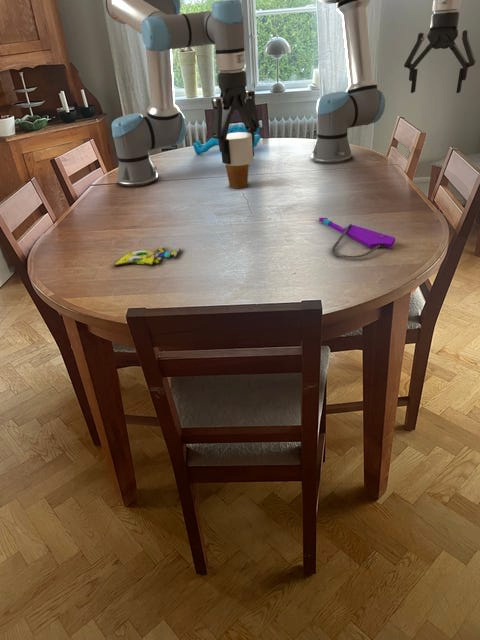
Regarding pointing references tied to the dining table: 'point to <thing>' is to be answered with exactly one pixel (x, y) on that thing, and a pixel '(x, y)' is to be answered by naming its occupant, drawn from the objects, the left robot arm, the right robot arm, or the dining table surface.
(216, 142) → the toy
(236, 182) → the disposable coffee cup
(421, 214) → the dining table surface
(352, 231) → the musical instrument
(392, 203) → the dining table surface
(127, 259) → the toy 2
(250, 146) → the canister
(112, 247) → the dining table surface
